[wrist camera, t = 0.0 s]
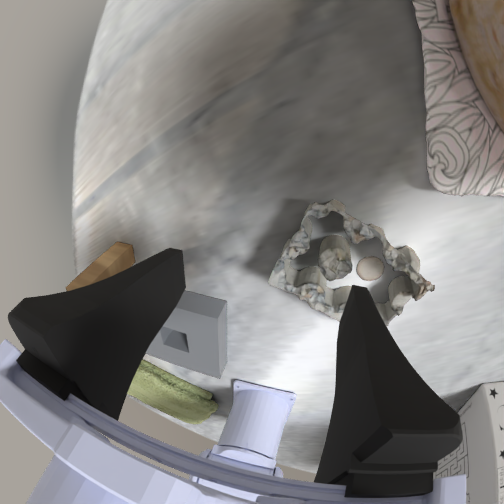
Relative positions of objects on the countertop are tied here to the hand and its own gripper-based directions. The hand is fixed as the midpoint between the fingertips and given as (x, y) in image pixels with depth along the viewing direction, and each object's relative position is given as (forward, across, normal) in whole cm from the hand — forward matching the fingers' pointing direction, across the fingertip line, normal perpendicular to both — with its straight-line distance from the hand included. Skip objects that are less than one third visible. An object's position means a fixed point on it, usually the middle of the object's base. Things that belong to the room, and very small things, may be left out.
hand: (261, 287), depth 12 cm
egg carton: (+11, -5, +4) cm, 12 cm away
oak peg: (+10, +16, +8) cm, 21 cm away
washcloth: (+11, +16, +34) cm, 39 cm away
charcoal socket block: (+10, +10, +16) cm, 21 cm away
